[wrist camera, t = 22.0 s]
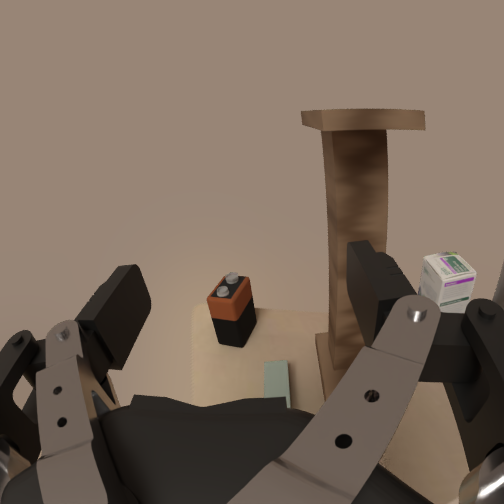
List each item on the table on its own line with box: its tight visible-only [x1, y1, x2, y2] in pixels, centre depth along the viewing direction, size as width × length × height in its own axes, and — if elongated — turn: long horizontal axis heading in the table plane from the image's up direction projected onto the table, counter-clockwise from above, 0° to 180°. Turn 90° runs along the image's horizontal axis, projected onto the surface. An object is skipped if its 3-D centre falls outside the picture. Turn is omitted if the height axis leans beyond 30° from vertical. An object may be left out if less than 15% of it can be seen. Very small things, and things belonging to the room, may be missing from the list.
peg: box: [264, 360, 291, 408], centre depth 28 cm, size 3×22×3 cm, turn 178°
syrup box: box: [418, 252, 477, 313], centre depth 33 cm, size 6×6×14 cm
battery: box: [207, 272, 256, 347], centre depth 45 cm, size 4×7×10 cm, turn 160°
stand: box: [301, 109, 425, 402], centre depth 30 cm, size 8×12×32 cm, turn 178°
